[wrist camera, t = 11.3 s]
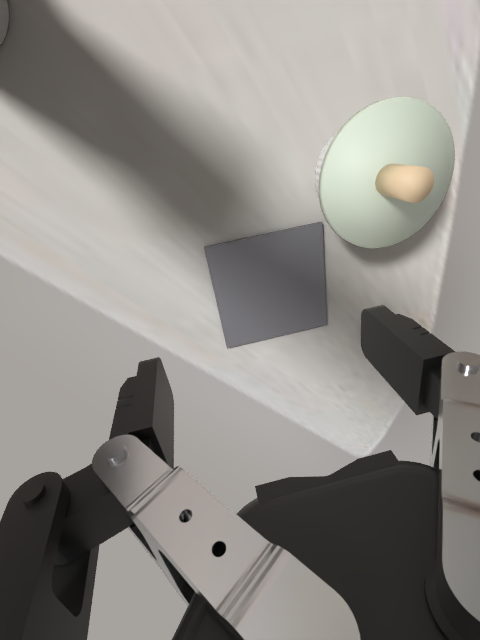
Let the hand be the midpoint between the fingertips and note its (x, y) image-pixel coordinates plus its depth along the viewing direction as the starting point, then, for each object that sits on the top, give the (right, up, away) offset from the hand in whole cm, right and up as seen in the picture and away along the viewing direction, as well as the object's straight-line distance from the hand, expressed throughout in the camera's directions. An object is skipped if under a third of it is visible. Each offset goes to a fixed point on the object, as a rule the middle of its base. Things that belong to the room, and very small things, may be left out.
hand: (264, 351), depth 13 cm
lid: (+15, +17, +24) cm, 33 cm away
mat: (+3, +6, +36) cm, 36 cm away
